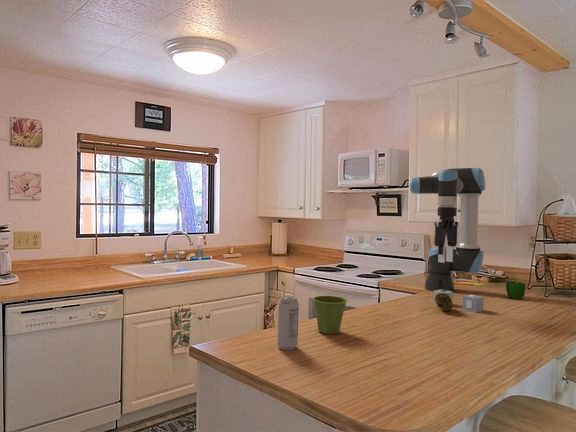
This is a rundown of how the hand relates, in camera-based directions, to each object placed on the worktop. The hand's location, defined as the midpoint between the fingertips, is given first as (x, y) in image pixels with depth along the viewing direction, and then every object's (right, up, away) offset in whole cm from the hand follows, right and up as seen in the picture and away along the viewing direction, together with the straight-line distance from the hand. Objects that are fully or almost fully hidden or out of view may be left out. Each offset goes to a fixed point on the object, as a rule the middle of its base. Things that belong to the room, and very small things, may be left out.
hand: (445, 261), depth 183 cm
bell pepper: (+46, -22, +31) cm, 59 cm away
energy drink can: (-67, -20, -53) cm, 88 cm away
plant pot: (-52, -20, -35) cm, 66 cm away
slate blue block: (+13, -21, +3) cm, 25 cm away
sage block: (+4, -21, +13) cm, 25 cm away
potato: (-1, -21, 0) cm, 21 cm away
